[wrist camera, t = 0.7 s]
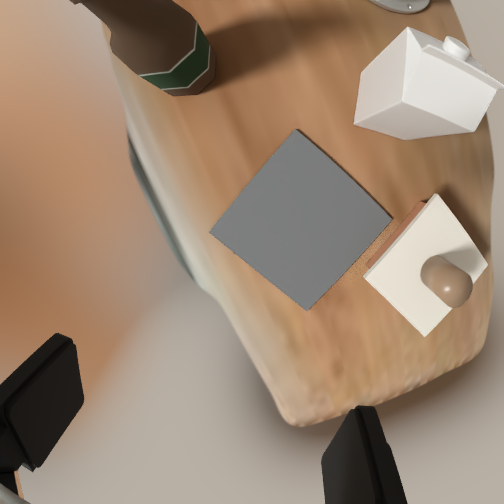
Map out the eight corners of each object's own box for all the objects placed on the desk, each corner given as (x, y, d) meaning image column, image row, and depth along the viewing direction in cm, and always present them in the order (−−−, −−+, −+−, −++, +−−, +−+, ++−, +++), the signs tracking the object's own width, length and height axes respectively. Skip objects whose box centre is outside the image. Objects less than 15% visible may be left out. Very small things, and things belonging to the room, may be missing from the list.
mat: (295, 129, 33) (295, 129, 33) (391, 218, 35) (392, 219, 35) (209, 231, 37) (208, 232, 37) (306, 309, 39) (306, 311, 39)
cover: (434, 193, 30) (466, 201, 24) (484, 262, 32) (514, 280, 25) (363, 276, 33) (381, 301, 27) (422, 334, 35) (443, 362, 29)
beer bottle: (228, 84, 32) (159, -26, 9) (169, 109, 34) (36, 53, 11) (207, 34, 30) (133, -87, 7) (151, 59, 32) (30, -22, 9)
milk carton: (405, 140, 33) (503, 130, 14) (352, 124, 33) (425, 91, 14) (411, 89, 31) (503, 48, 12) (360, 72, 31) (428, 6, 12)
